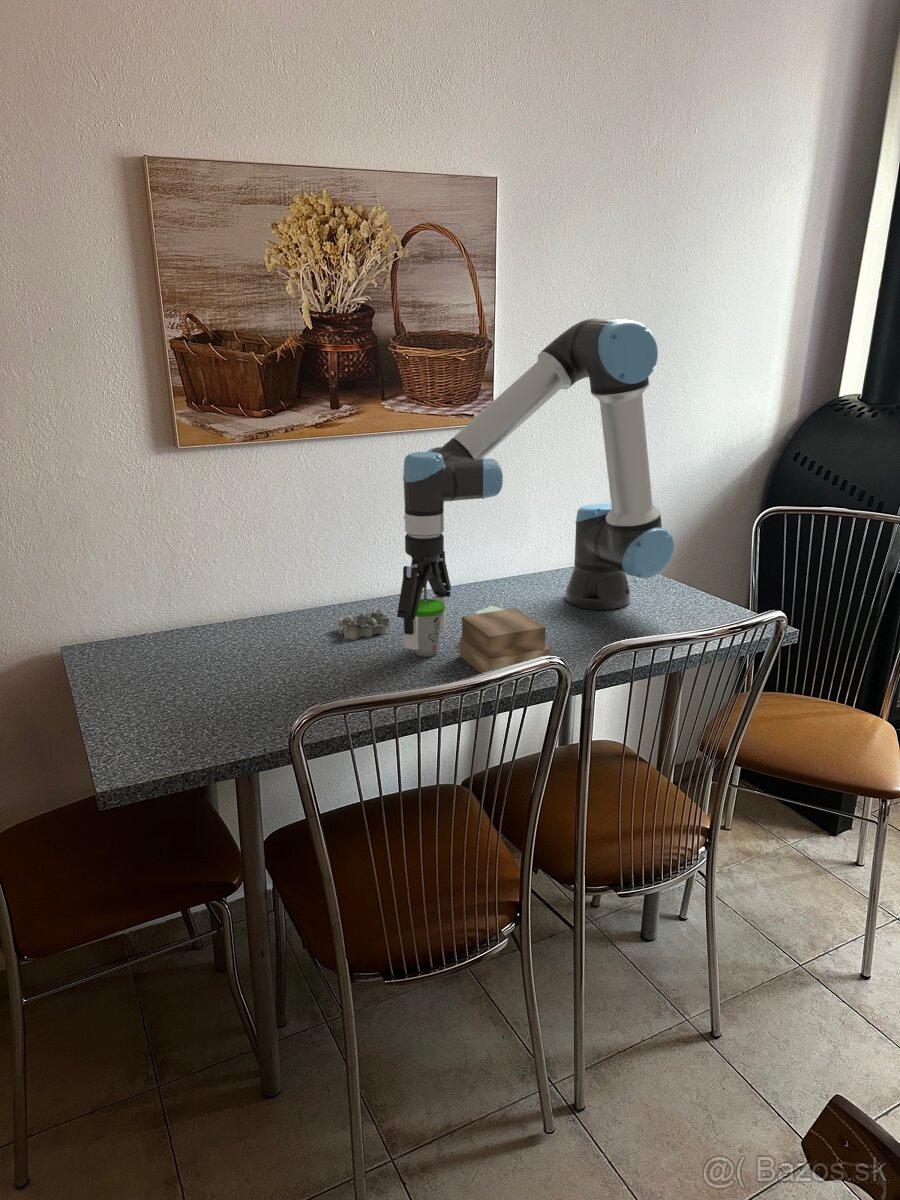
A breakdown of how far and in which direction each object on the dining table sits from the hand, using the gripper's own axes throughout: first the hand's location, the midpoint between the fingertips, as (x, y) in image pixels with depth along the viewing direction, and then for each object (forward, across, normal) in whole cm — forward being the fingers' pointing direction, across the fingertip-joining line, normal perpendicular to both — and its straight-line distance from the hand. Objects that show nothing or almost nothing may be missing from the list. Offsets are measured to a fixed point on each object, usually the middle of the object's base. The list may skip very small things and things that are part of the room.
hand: (425, 637), depth 174 cm
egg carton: (+4, -5, -18) cm, 19 cm away
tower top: (-1, -2, +16) cm, 16 cm away
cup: (+4, 0, 0) cm, 4 cm away
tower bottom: (+4, -2, +16) cm, 17 cm away
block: (+4, -13, +10) cm, 16 cm away
